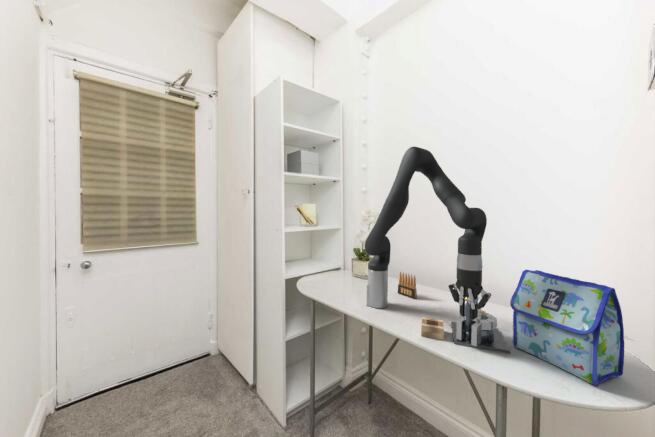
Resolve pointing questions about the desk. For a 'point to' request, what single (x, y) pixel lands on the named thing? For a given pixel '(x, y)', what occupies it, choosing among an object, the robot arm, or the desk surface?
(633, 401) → the desk surface
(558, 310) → the lunch bag
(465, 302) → the dark grey cylinder
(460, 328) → the grey cube ring
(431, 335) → the holder
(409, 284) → the ammunition clip
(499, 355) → the desk surface
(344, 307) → the desk surface
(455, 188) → the robot arm
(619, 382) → the desk surface
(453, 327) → the chuck base
